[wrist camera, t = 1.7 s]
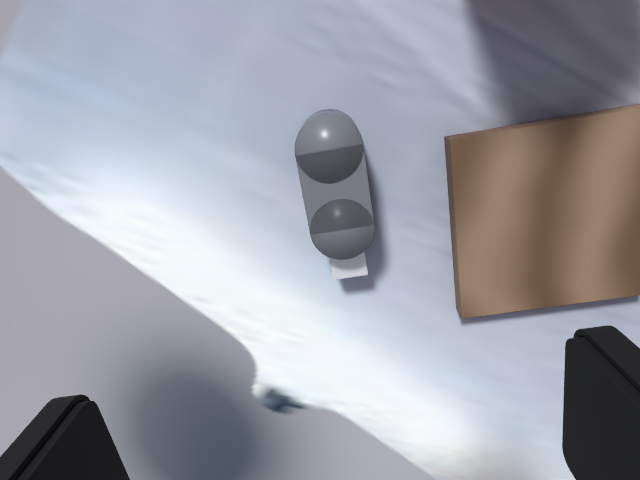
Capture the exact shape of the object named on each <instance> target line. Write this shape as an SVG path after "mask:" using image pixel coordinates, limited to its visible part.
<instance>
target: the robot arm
mask: <svg viewBox="0 0 640 480" xmlns="http://www.w3.org/2000/svg"><path fill="white" fill-rule="evenodd" d="M562 447H563V454H564V457H565V461H566V463H567V465H568V467H569V469H570V471H571V472H572V474H573V476H574V477H575V479H576V480H640V348H638V347H637V346H636V345H635V344H634V343H633V342H632V341H630V340H629V339H628V338H627V337H626V336H625V335H623V334H622V333H621V332H620V331H619V330H618V329H616V328H615V327H613V326H601V327H593V328H586V329H579V330H577V331H576V332H575V334H574V338H571V339H568V340H567V341H566V346H565V378H564V411H563V444H562ZM0 480H130V479H129V477H128V474H127V472H126V470H125V467H124V466H123V463H122V461H121V458H120V456H119V454H118V451H117V449H116V447H115V445H114V443H113V440H112V438H111V435H110V433H109V431H108V429H107V426H106V424H105V422H104V419H103V417H102V415H101V413H100V410H99V408H98V406H97V404H96V403H95V402H94V401H90V400H89V398H88V397H87V396H85V395H75V396H67V397H59V398H55V399H52V400H51V401H50V402H48V403H47V404H46V405H45V407H44V408H43V409H42V410H41V411H40V412H39V413H38V415H37V416H36V417H35V418H34V419H33V420H32V422H31V423H30V424H29V425H28V426H27V427H26V428H25V429H24V431H23V432H22V433H21V434H20V435H19V436H18V437H17V439H16V440H15V441H14V442H13V443H12V444H11V445H10V447H9V448H8V449H7V450H6V451H5V452H4V453H3V455H2V456H1V457H0Z"/></svg>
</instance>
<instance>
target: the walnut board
mask: <svg viewBox="0 0 640 480" xmlns="http://www.w3.org/2000/svg"><path fill="white" fill-rule="evenodd" d="M444 139H445V153H446V167H447V182H448V196H449V210H450V224H451V239H452V253H453V267H454V282H455V296H456V308H457V310H458V312H459V314H460V316H461V318H469V317H477V316H485V315H492V314H500V313H508V312H515V311H523V310H530V309H538V308H546V307H553V306H561V305H569V304H576V303H584V302H591V301H599V300H607V299H614V298H622V297H630V296H637V295H640V104H636V105H630V106H624V107H618V108H612V109H607V110H601V111H595V112H589V113H583V114H577V115H571V116H565V117H559V118H553V119H547V120H541V121H535V122H529V123H523V124H517V125H511V126H505V127H499V128H493V129H487V130H482V131H476V132H470V133H464V134H458V135H452V136H446V137H444Z"/></svg>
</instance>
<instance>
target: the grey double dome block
mask: <svg viewBox="0 0 640 480" xmlns="http://www.w3.org/2000/svg"><path fill="white" fill-rule="evenodd" d="M295 157H296V162H297V167H298V173H299V178H300V183H301V188H302V193H303V199H304V204H305V209H306V214H307V220H308V225H309V230H310V235H311V239H312V241H313V243H314V245H315V247H316V248H317V249H318V250H319V251H320V252H321V253H322V254H324V255H326V256H327V257H329V258H330V264H331V270H332V275H333V280H335V279H342V278H349V277H356V276H363V275H368V271H367V264H366V258H365V250H366V249H367V248H368V247H369V245H370V244H371V242H372V239H373V236H374V220H373V213H372V205H371V198H370V190H369V183H368V176H367V168H366V161H365V153H364V146H363V140H362V137H361V135H360V132H359V130H358V128H357V126H356V124H355V123H354V121H353V120H352V119H351V118H350V117H349V116H348V115H346V114H345V113H343V112H341V111H338V110H332V109H328V110H322V111H319V112H317V113H315V114H313V115H312V116H311V117H310V118H309V119H307V121H306V122H305V123H304V125H303V127H302V128H301V130H300V131H299V133H298V135H297V138H296V142H295Z"/></svg>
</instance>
